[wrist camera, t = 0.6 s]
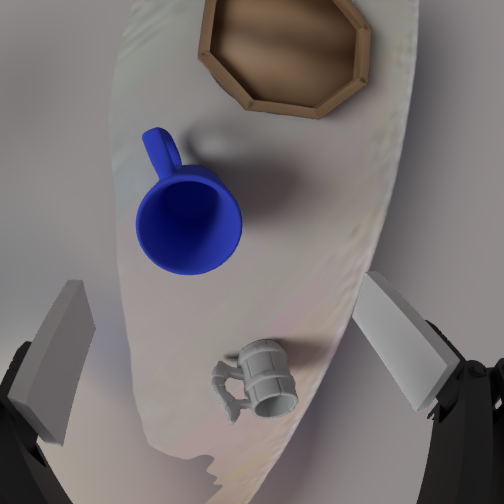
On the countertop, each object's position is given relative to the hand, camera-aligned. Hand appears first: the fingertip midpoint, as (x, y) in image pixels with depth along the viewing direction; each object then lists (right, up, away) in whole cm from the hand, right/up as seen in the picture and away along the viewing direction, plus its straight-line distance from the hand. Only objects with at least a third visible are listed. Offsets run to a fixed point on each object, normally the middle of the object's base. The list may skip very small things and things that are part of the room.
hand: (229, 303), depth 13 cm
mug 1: (-6, +10, +17) cm, 21 cm away
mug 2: (0, -13, +30) cm, 33 cm away
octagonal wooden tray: (+4, +24, +12) cm, 27 cm away
